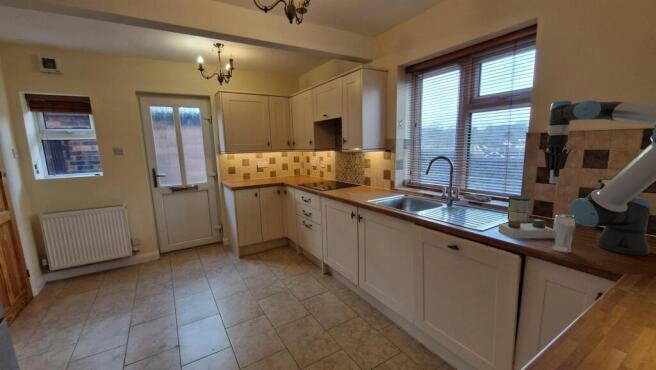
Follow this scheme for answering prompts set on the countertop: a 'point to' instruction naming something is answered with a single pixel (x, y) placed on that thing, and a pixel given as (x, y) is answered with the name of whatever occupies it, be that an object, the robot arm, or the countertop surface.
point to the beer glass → (563, 232)
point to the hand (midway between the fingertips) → (553, 183)
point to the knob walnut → (514, 223)
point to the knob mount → (526, 231)
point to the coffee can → (519, 208)
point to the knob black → (538, 223)
